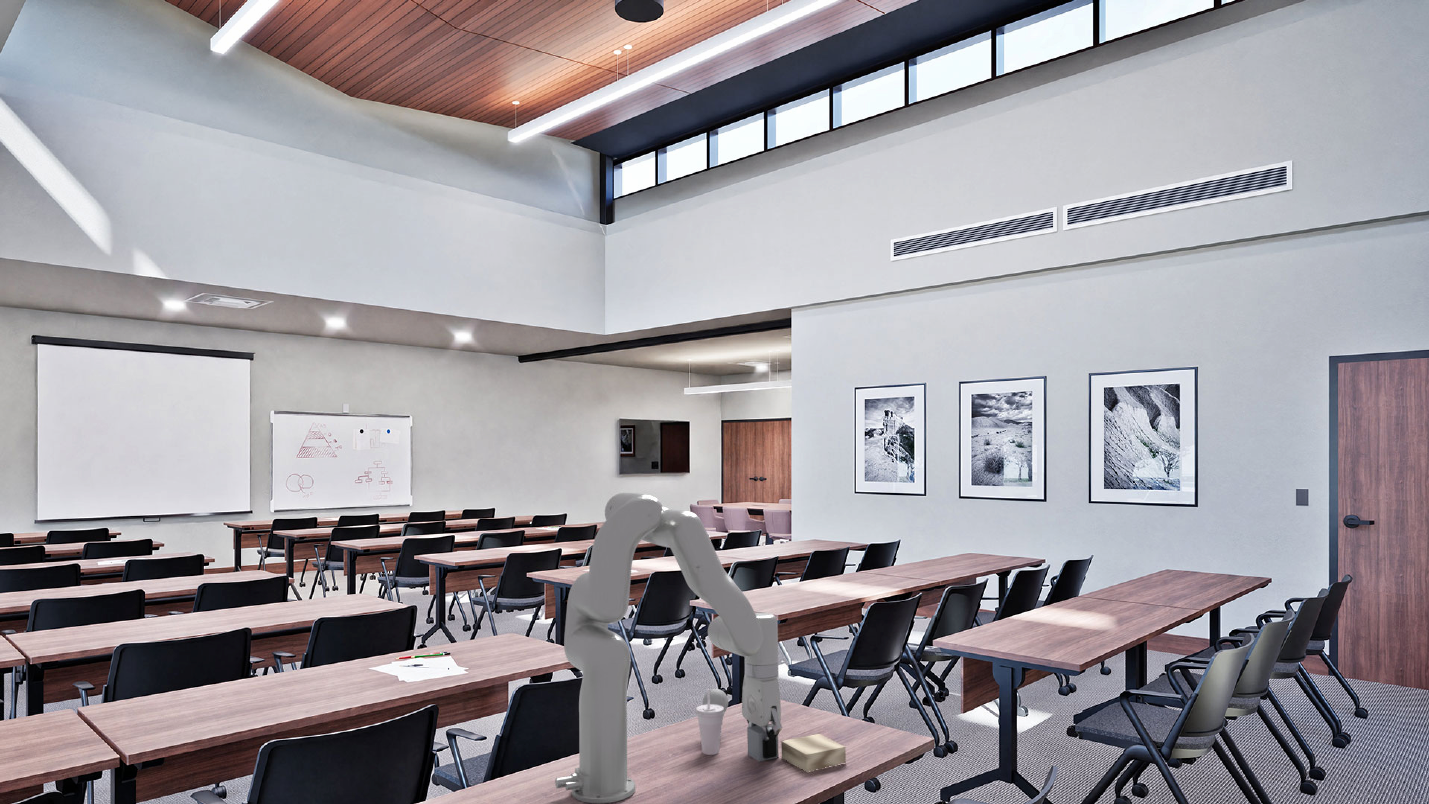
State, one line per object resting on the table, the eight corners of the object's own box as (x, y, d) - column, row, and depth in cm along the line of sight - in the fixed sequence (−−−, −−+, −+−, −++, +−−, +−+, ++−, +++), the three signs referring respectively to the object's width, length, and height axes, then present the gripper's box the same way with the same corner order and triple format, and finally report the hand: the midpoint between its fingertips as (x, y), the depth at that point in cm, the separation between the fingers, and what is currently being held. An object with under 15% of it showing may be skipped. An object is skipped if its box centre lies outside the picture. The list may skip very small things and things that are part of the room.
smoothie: (691, 754, 189) (690, 690, 190) (704, 745, 194) (704, 683, 195) (716, 758, 186) (715, 693, 187) (729, 749, 191) (728, 686, 192)
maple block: (806, 774, 177) (806, 754, 177) (781, 759, 186) (781, 741, 186) (845, 765, 181) (845, 746, 182) (819, 751, 190) (819, 733, 190)
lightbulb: (699, 734, 202) (698, 687, 203) (722, 730, 205) (721, 684, 205) (709, 742, 197) (709, 693, 197) (733, 738, 199) (732, 690, 200)
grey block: (758, 761, 184) (758, 733, 184) (747, 754, 188) (747, 727, 188) (778, 757, 186) (778, 730, 186) (767, 751, 190) (766, 723, 191)
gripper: (728, 664, 194) (729, 744, 193) (766, 680, 179) (768, 768, 178) (757, 660, 197) (758, 739, 196) (796, 676, 182) (798, 762, 181)
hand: (763, 752), depth 187 cm, fingers open, 5 cm apart
